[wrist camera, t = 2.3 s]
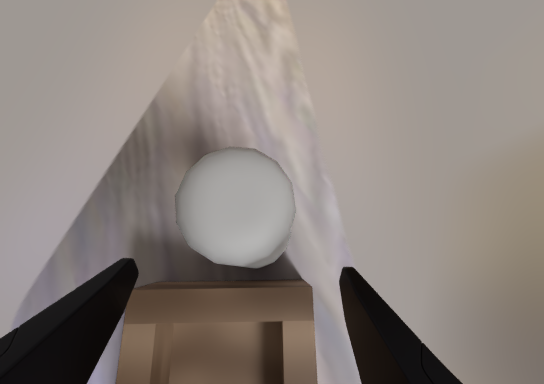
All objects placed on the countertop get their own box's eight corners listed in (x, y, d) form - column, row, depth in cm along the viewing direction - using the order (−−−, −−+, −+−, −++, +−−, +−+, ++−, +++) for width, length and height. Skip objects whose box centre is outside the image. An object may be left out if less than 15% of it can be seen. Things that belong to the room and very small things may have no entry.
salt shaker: (208, 242, 20) (99, 227, 7) (244, 187, 21) (208, 90, 8) (266, 279, 19) (262, 337, 6) (300, 220, 20) (353, 169, 8)
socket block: (311, 463, 16) (325, 531, 12) (137, 468, 16) (94, 540, 12) (303, 279, 19) (312, 286, 15) (157, 282, 19) (128, 290, 15)
